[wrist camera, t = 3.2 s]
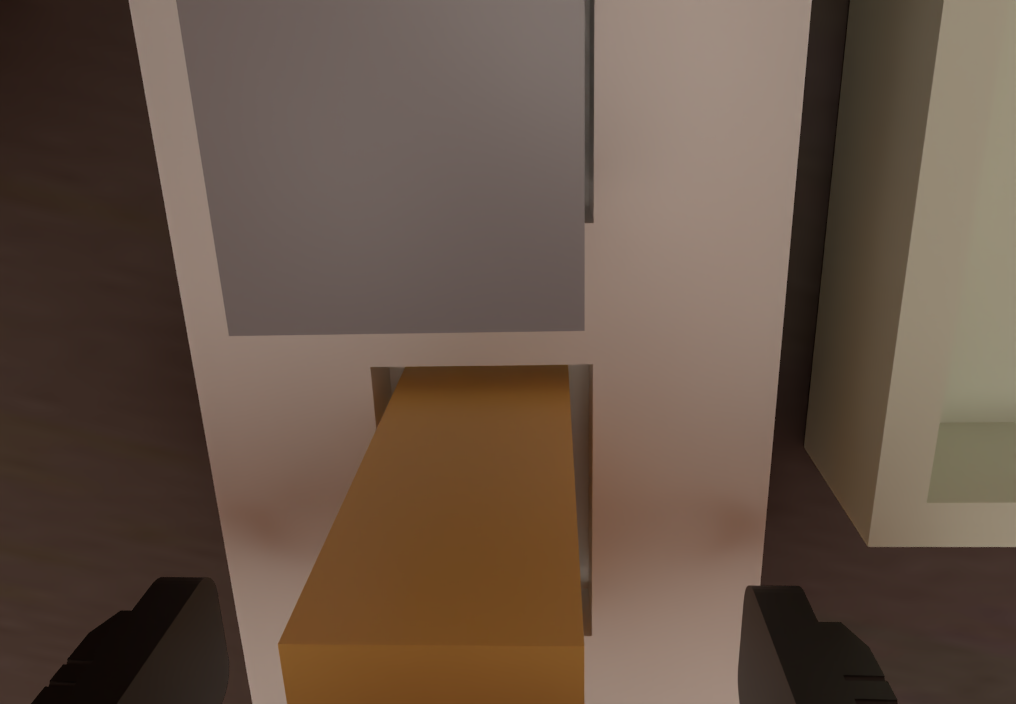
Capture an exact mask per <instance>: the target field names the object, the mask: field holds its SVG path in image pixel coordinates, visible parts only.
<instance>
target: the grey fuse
mask: <svg viewBox="0 0 1016 704" xmlns="http://www.w3.org/2000/svg"><path fill="white" fill-rule="evenodd" d="M176 4H177V10H178V16H179V23H180V29H181V35H182V42H183V48H184V54H185V61H186V67H187V73H188V80H189V86H190V92H191V99H192V105H193V111H194V118H195V124H196V130H197V137H198V143H199V149H200V156H201V162H202V168H203V175H204V181H205V187H206V194H207V200H208V206H209V213H210V219H211V225H212V232H213V238H214V244H215V251H216V257H217V263H218V270H219V276H220V282H221V289H222V295H223V301H224V308H225V314H226V320H227V327H228V333H229V336H270V335H338V334H406V333H474V332H542V331H585V0H176Z"/></svg>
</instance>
